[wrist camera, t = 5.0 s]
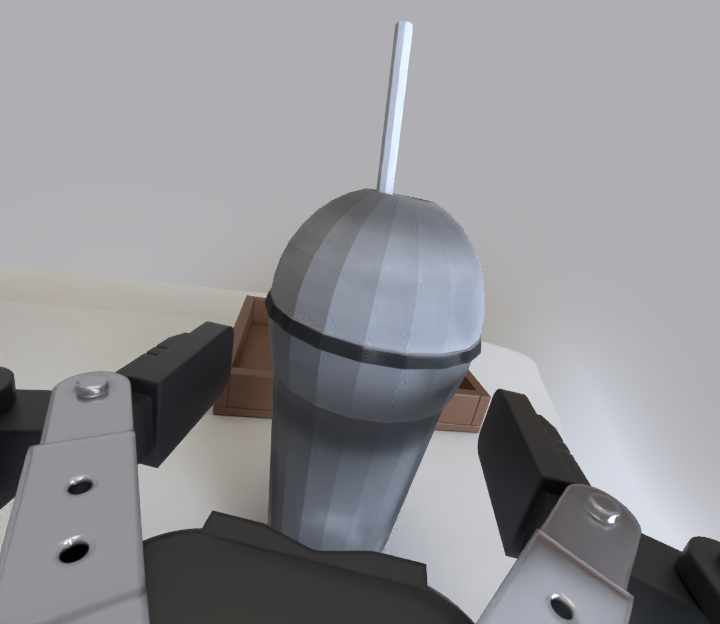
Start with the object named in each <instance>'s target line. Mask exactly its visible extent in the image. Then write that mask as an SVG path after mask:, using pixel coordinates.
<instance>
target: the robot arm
mask: <svg viewBox="0 0 720 624" xmlns="http://www.w3.org/2000/svg"><path fill="white" fill-rule="evenodd" d="M233 342H234V330H233V328H232V327H230V326H226V325H222V324H217V323H213V322H205V323H204V324H202V325H201V326H199V327H198V328H196V329H195V330H193V331H192V332H191V333H183V334H180V335H176V336H173V337H170V338H168V339H166V340H165V341H163V342H161V343H160V344H158V345H157V347H154V348H152V349H151V350H149V351H148V352H147V353H146V354H143V355H141V356H140V357H138V358H137V359H135V360H134V361H132V362H131V363H129V364H128V365H126V366H124V367H123V368H121V369H120V370H118V371H117V372H115V373H113V372H88V373H83V374H79V375H75V376H72V377H70V378H67V379H65V380H63V381H62V382H60V383H59V384H57V385H56V386H55V387H54V389H53V391H49V390H19V389H16V388H15V380H14V374H13V372H12V371H10V370H9V369H7V368H4V367H0V509H1V508H3V507H4V506H5V505H6V504H7V503H8V502H9V501H11V500H12V499H13V498H14V497H15V500H14V503H13V507H12V511H11V515H10V518H9V522H8V526H7V530H6V533H5V537H4V541H3V545H2V549H1V552H0V624H475V623H474V622H473V621H472V620H471V619H470V618H469V617H468V616H467V615H466V614H465V613H464V612H463V611H462V610H461V609H460V608H459V607H458V606H457V605H455V604H454V603H453V602H452V601H450V600H449V599H448V598H447V597H445V596H444V595H442V594H441V593H439V592H438V591H436V590H435V589H433V588H431V587H430V586H428V585H427V571H426V564H423V563H419V562H415V561H411V560H407V559H403V558H399V557H395V556H391V555H387V554H383V553H380V552H376V551H319V550H314V549H311V548H309V547H307V546H305V545H303V544H301V543H299V542H298V541H296V540H294V539H292V538H290V537H288V536H286V535H285V534H283V533H281V532H279V531H277V530H275V529H273V528H271V527H270V526H268V525H266V524H264V523H260V522H256V521H252V520H248V519H244V518H240V517H236V516H232V515H228V514H224V513H220V512H216V511H212V512H211V514H210V516H209V517H208V519H207V521H206V522H205V524H204V526H203V528H195V529H185V530H178V531H173V532H169V533H165V534H161V535H158V536H155V537H152V538H149V539H146V540H144V541H142V527H141V512H140V497H139V483H138V468H137V465H138V464H143V465H147V466H152V467H156V468H158V467H159V466H160V465H161V464H162V462H163V461H164V460H165V459H166V458H167V457H168V456H169V454H170V453H171V452H172V451H173V450H174V449H175V447H176V446H177V445H178V444H179V443H180V442H181V441H182V439H183V438H184V437H185V436H186V435H187V434H188V433H189V431H190V430H191V429H192V428H193V427H194V426H195V425H196V423H197V422H198V421H199V420H200V419H201V418H202V417H203V415H204V414H205V413H206V412H207V411H208V410H209V409H210V407H211V406H212V405H213V404H214V403H215V402H216V401H217V399H218V398H219V397H220V396H221V395H222V394H223V392H224V391H225V389H226V387H227V385H228V382H229V379H230V374H231V364H232V353H233ZM478 455H479V459H480V462H481V466H482V470H483V474H484V477H485V481H486V485H487V488H488V492H489V496H490V499H491V503H492V507H493V510H494V514H495V518H496V521H497V525H498V529H499V532H500V536H501V540H502V543H503V547H504V551H505V555H506V556H509V557H513V558H517V560H516V562H515V564H514V565H513V567H512V568H511V570H510V571H509V573H508V574H507V576H506V578H505V579H504V581H503V582H502V584H501V585H500V587H499V588H498V590H497V592H496V593H495V595H494V596H493V598H492V599H491V601H490V602H489V604H488V606H487V607H486V609H485V610H484V612H483V613H482V615H481V616H480V618H479V620H478V621H477V623H476V624H720V542H718V541H716V540H713V539H710V538H706V537H699V536H698V537H693V538H691V539H690V541H689V542H688V544H687V545H686V547H685V548H684V550H683V551H682V552H681V551H679V550H677V549H674V548H673V547H670V546H668V545H666V544H664V543H662V542H659V541H657V540H655V539H653V538H651V537H648V536H646V535H644V534H642V533H641V528H640V525H639V523H638V521H637V520H636V518H635V517H634V515H633V514H632V513H631V512H630V511H629V510H628V509H627V508H626V507H625V506H624V505H623V504H622V503H620V502H619V501H618V500H616V499H615V498H614V497H612V496H610V495H609V494H607V493H605V492H603V491H601V490H599V489H597V488H595V487H592V486H591V485H590V483H589V482H588V480H587V479H586V477H585V475H584V474H583V472H582V471H581V469H580V467H579V466H578V464H577V462H576V461H575V459H574V458H573V456H572V455H571V454H570V451H569V449H568V448H567V446H566V445H565V444H564V443H563V440H562V438H561V436H560V435H559V433H558V432H557V430H556V428H555V427H554V426H552V425H551V424H550V423H549V422H548V421H547V420H546V419H545V418H544V417H542V416H541V415H537V414H536V412H535V410H534V408H533V407H532V405H531V403H530V401H529V400H528V398H527V396H526V395H524V394H520V393H516V392H511V391H507V390H503V389H498V390H496V392H495V393H494V395H493V398H492V401H491V403H490V406H489V409H488V412H487V414H486V417H485V420H484V423H483V425H482V428H481V431H480V434H479V439H478Z"/></svg>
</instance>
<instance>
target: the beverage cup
mask: <svg viewBox="0 0 720 624" xmlns="http://www.w3.org/2000/svg"><path fill="white" fill-rule="evenodd" d="M412 32H413V25H412V24H411V23H409V22H407V21H401V22H398V23H397V24H396V26H395V35H394V43H393V52H392V60H391V70H390V78H389V87H388V95H387V104H386V112H385V121H384V130H383V138H382V148H381V156H380V165H379V173H378V183H377V190H374V189H367V188H366V189H362V190H358V191H354V192H350V193H347V194H345V195H343V196H340V197H338V198H336V199H334V200H332V201H330V202H329V203H328V204H326V205H324V206H323V207H321V208H320V209H319V210H317V211H316V212H315V213H314V214H313V215H312V216H311V217H310V218H309V219H307V220H306V221H305V222H304V223H303V224H302V226H301V227H300V228H299V229H298V231H297V232H296V233H295V235H294V236H293V237H292V238H291V240H290V241H289V243H288V245H287V247H286V249H285V250H284V252H283V254H282V256H281V258H280V261H279V264H278V266H277V269H276V272H275V275H274V279H273V284H272V288H271V290H270V291H269V292H268V295H267V297H266V300H265V302H264V303H265V307H266V310H267V313H268V317H269V323H268V331H269V342H270V354H271V360H272V364H273V368H274V379H273V405H272V431H271V457H270V483H269V509H268V526H270V527H271V528H273V529H275V530H277V531H279V532H281V533H283V534H285V535H286V536H288V537H290V538H292V539H294V540H296V541H298V542H299V543H301V544H303V545H305V546H307V547H309V548H311V549H314V550H319V551H376V552H380V553H382V552H383V549H384V547H385V545H386V542H387V540H388V538H389V535H390V533H391V531H392V528H393V526H394V524H395V521H396V519H397V516H398V514H399V512H400V509H401V507H402V505H403V502H404V500H405V498H406V495H407V493H408V491H409V488H410V486H411V484H412V481H413V479H414V477H415V474H416V472H417V470H418V467H419V465H420V463H421V460H422V458H423V455H424V453H425V451H426V448H427V446H428V444H429V441H430V439H431V437H432V434H433V432H434V430H435V427H436V425H437V423H438V420H439V418H440V416H441V413H442V411H443V409H444V407H445V406H446V405H447V404H448V403H449V402H450V401H451V400H452V398H453V396H454V395H455V393H456V391H457V389H458V388H459V386H460V384H461V383H462V381H463V379H464V377H465V376H466V374H467V371H468V369H469V366H470V363H471V361H472V360H473V359H474V358H476V357H477V356H478V355H479V354H480V353H481V330H482V326H483V322H484V309H485V296H484V282H483V275H482V270H481V267H480V262H479V259H478V256H477V254H476V252H475V249H474V247H473V244H472V242H471V241H470V239H469V237H468V236H467V234H466V233H465V231H464V230H463V228H462V227H461V226H460V225H459V223H458V222H457V221H456V220H455V219H454V218H453V217H452V216H451V215H450V214H449V213H448V212H447V211H445V210H444V209H443V208H441V207H440V206H439V205H437V204H436V203H434V202H431V201H427V200H422V199H418V198H414V197H409V196H404V195H399V194H395V193H393V187H394V179H395V170H396V162H397V154H398V146H399V138H400V130H401V121H402V113H403V105H404V97H405V89H406V81H407V72H408V63H409V56H410V48H411V40H412Z"/></svg>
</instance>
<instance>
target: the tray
mask: <svg viewBox="0 0 720 624" xmlns="http://www.w3.org/2000/svg"><path fill="white" fill-rule="evenodd" d="M265 300H266V298H261V297H254V296H246V299H245V301H244V304H243V306H242V309H241V311H240V314H239V316H238V319H237V321H236V324H235V326H234V329H233V330H234V342H233V353H232V364H231V374H230V379H229V382H228V385H227V387H226V389H225V391H224V392H223V394H222V395H221V396H220V397H219V398H218V399H217V401H216V402H215V403H214V407H213V414H221V415H235V416H249V417H264V418H272V405H273V379H274V368H273V364H272V360H271V354H270V342H269V331H268V323H269V317H268V313H267V310H266V307H265V303H264V302H265ZM490 398H491V397H490V395H489V394H488V393H487V392H486V390H485V389H484V388H483V387H482V386H481V384H480V383H479V382H478V381H477V379H476V378H475V377H474V376H473V375H472V373H471V372H470V371H469V370H468V371H467V374H466V376H465V377H464V379H463V381H462V383H461V384H460V386H459V388H458V389H457V391H456V393H455V395H454V396H453V398H452V400H451V401H450V402H449V403H448V404H447V405H446V406H445V407H444V409H443V411H442V413H441V416H440V418H439V420H438V423H437V425H436V427H435V430H449V431H464V432H479V429H480V426H481V424H482V421H483V418H484V415H485V412H486V410H487V407H488V404H489V401H490Z"/></svg>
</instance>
